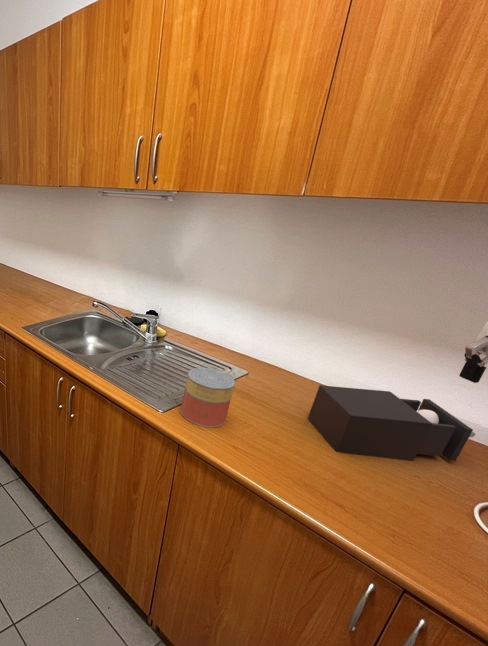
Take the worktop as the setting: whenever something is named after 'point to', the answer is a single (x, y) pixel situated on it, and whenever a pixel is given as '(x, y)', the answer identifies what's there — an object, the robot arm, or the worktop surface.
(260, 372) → the worktop surface
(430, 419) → the egg
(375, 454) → the dark brown box
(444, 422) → the black open angular box
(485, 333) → the robot arm
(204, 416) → the canned food
